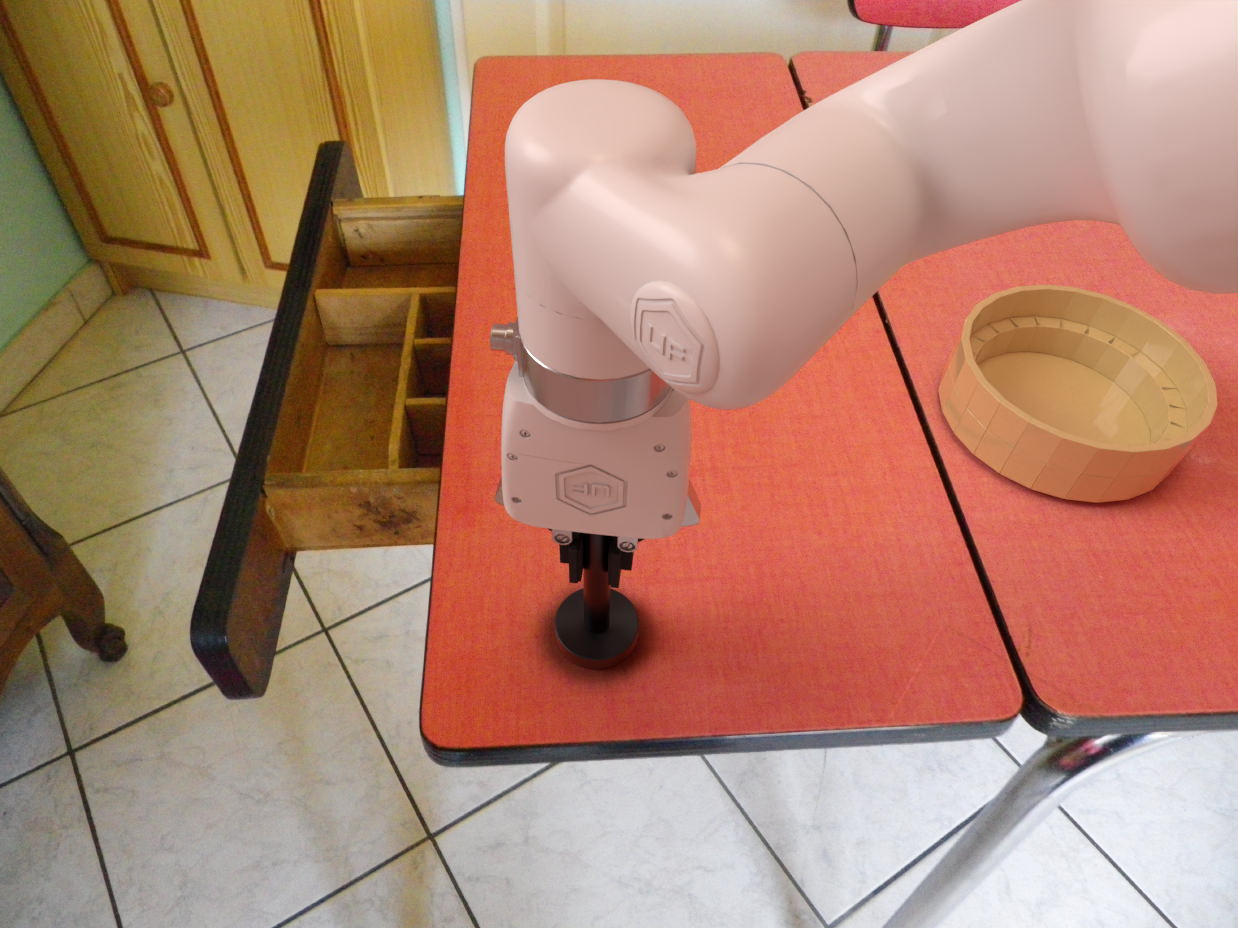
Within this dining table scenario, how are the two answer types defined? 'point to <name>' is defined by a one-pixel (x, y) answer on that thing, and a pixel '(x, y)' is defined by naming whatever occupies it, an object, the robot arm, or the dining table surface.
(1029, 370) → the bowl
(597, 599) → the black plunger
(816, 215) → the robot arm
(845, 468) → the dining table surface
